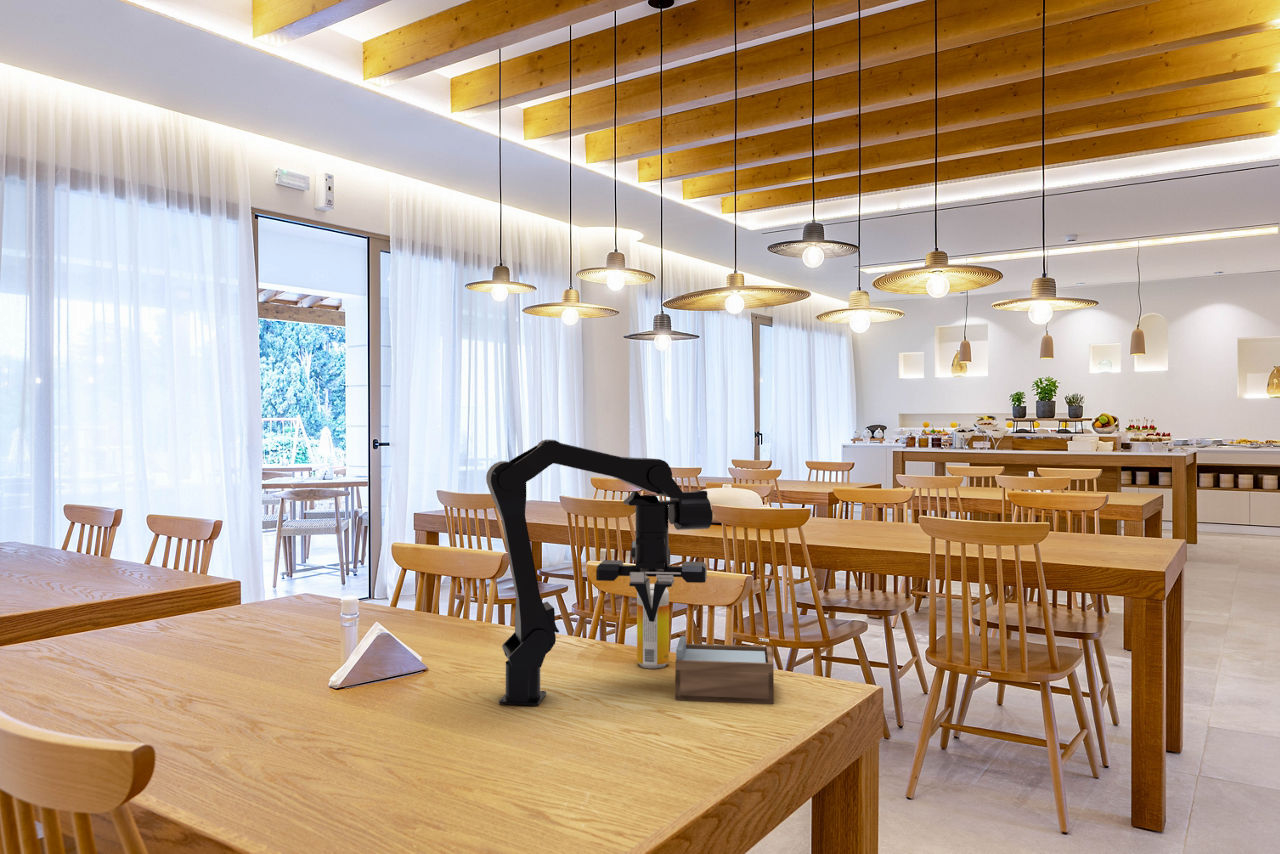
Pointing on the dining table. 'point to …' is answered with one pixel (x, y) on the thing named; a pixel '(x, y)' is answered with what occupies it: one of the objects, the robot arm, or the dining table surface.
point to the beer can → (653, 633)
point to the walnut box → (725, 678)
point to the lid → (717, 654)
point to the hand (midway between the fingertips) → (652, 621)
